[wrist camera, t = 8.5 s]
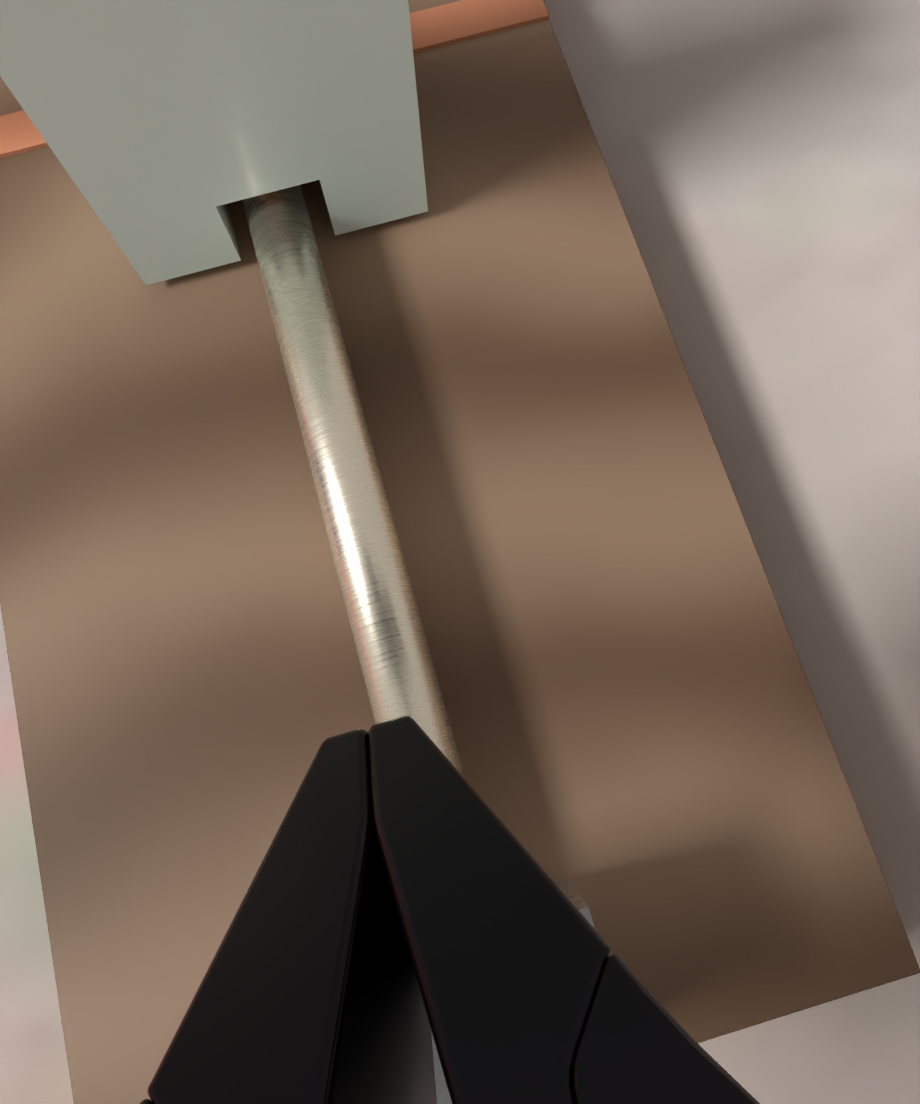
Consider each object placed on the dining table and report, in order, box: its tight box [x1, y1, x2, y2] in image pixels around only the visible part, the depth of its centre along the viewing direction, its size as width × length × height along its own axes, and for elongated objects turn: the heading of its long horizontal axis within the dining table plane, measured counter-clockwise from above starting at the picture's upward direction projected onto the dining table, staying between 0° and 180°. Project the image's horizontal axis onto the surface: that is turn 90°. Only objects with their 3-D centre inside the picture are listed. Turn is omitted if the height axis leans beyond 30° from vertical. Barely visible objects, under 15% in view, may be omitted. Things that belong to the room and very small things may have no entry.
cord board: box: [0, 0, 920, 1104], centre depth 17 cm, size 25×14×2 cm, turn 16°
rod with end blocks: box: [242, 185, 595, 1104], centre depth 15 cm, size 24×5×6 cm, turn 16°
